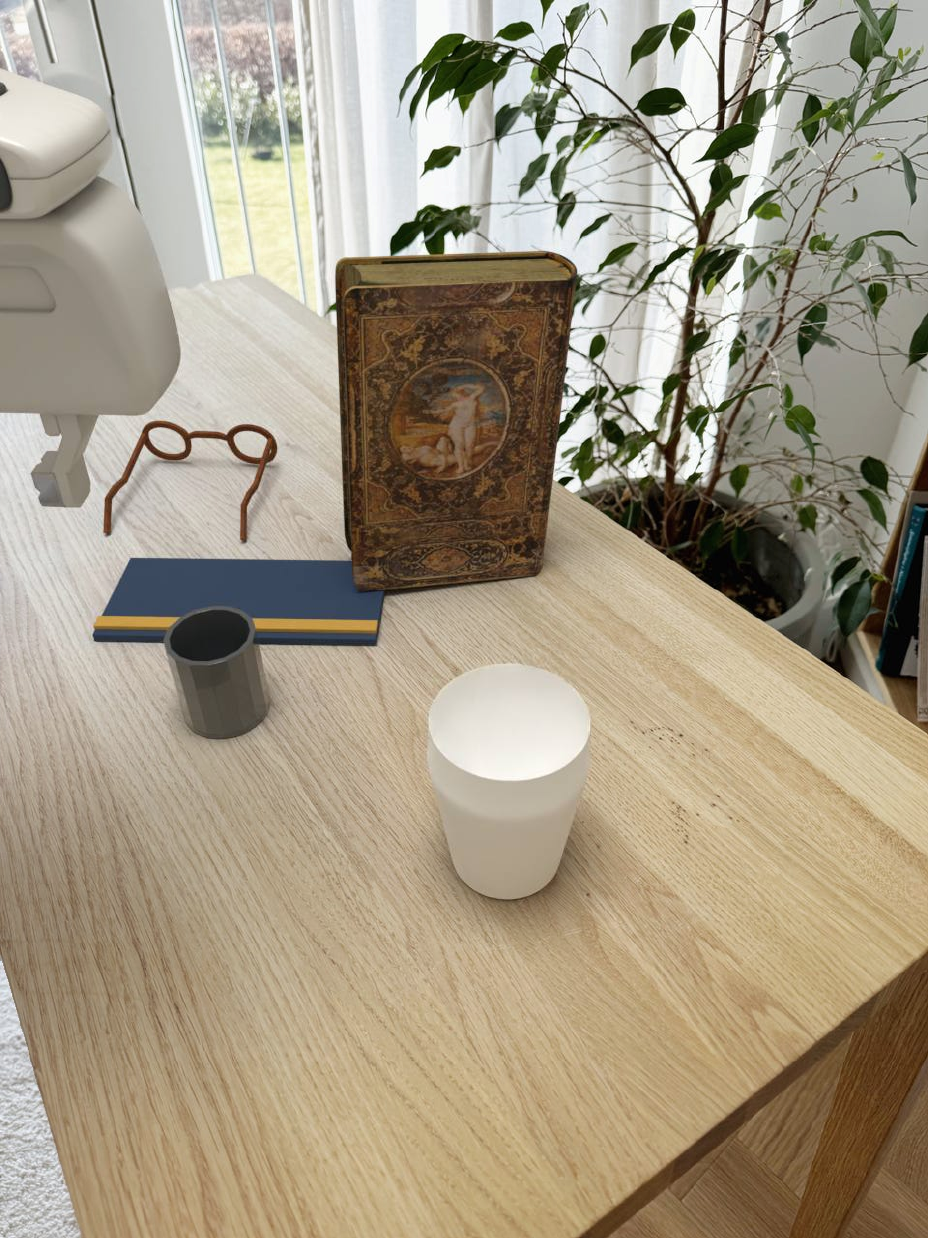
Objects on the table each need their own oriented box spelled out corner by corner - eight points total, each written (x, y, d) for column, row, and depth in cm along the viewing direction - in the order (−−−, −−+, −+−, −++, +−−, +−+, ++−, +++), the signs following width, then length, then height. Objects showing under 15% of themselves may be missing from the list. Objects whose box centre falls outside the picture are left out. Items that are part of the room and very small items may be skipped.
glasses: (281, 466, 95) (274, 420, 92) (245, 544, 85) (236, 495, 82) (151, 460, 96) (140, 414, 93) (101, 536, 86) (86, 488, 83)
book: (532, 536, 85) (563, 249, 69) (549, 574, 81) (586, 279, 65) (345, 553, 82) (332, 257, 66) (353, 593, 78) (341, 288, 62)
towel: (94, 641, 75) (90, 630, 75) (132, 563, 83) (129, 553, 82) (376, 646, 75) (375, 635, 74) (388, 567, 82) (388, 556, 81)
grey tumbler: (175, 738, 67) (153, 664, 63) (196, 678, 72) (177, 605, 67) (260, 739, 67) (244, 665, 63) (276, 679, 72) (263, 606, 67)
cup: (469, 942, 55) (467, 807, 47) (410, 825, 61) (400, 689, 54) (606, 885, 58) (626, 749, 50) (537, 779, 64) (544, 643, 56)
